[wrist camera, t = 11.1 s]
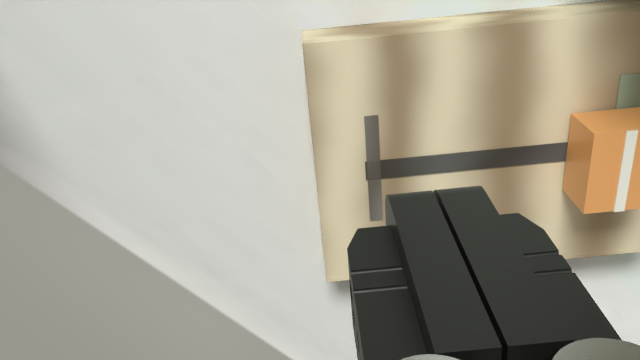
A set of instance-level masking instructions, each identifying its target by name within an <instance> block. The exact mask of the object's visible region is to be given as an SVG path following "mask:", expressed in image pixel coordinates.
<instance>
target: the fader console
mask: <svg viewBox="0 0 640 360" xmlns="http://www.w3.org/2000/svg"><path fill="white" fill-rule="evenodd" d="M302 45H303V55H304V65H305V74H306V84H307V94H308V104H309V114H310V123H311V133H312V143H313V153H314V163H315V172H316V182H317V192H318V202H319V212H320V221H321V231H322V241H323V251H324V260H325V270H326V280H327V282H334V281H344V280H349V267H348V254H347V248H348V246H349V244H350V242H351V240H352V238H353V236H354V234H355V232H356V231H357V229H358V228H368V227H378V226H386V216H385V198H386V195H389V194H399V193H409V192H420V191H430V190H431V191H434V190H439V189H449V188H460V187H470V186H482V187H483V189H484V190H485V192H486V193H487V195H488V197H489V198H490V200H491V202H492V203H493V205H494V207H495V208H496V210H497V211H498V213H499V215H501V214H511V213H519V214H521V215H522V216H524V217H525V218H527V219H529V220H530V221H532V222H533V223H535V224H536V225H538V226H540V227H541V228H543V229H544V230H545V232H546V233H547V234H548V236H549V237H550V239H551V240H552V242H553V243H554V244H555V246H556V247H557V249H558V250H559V255H562V256H563V257H564V259H572V258H582V257H593V256H603V255H614V254H624V253H634V252H640V209H631V210H625V211H621V212H613V211H611V212H600V213H590V214H583V213H582V212H581V211H580V209H579V208H578V207H577V206H576V205H575V203H574V202H573V201H572V200H571V199H570V197H569V196H568V195H567V194H566V193H565V191H564V190H563V181H564V172H565V164H566V155H567V146H568V138H569V129H570V120H571V114H572V113H582V112H592V111H602V110H613V109H623V108H633V107H640V0H609V1H599V2H589V3H579V4H568V5H558V6H548V7H538V8H527V9H517V10H507V11H497V12H487V13H476V14H466V15H456V16H446V17H436V18H425V19H415V20H405V21H395V22H385V23H374V24H364V25H354V26H344V27H334V28H323V29H313V30H303V31H302Z"/></svg>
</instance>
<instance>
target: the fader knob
mask: <svg viewBox="0 0 640 360" xmlns="http://www.w3.org/2000/svg"><path fill="white" fill-rule="evenodd" d="M563 190H564V191H565V193H566V194H567V195H568V196H569V197H570V199H571V200H572V201H573V202H574V203H575V205H576V206H577V207H578V208H579V209H580V211H581V212H582V213H583V214H590V213H600V212H611V211H613V212H621V211H625V210H631V209H640V107H633V108H623V109H613V110H602V111H592V112H582V113H572V114H571V120H570V129H569V138H568V146H567V155H566V164H565V172H564V181H563Z"/></svg>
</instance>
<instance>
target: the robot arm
mask: <svg viewBox="0 0 640 360" xmlns="http://www.w3.org/2000/svg"><path fill="white" fill-rule="evenodd" d="M385 216H386V226H378V227H368V228H358V229H357V231H356V232H355V234H354V236H353V238H352V240H351V242H350V244H349V246H348V248H347V254H348V267H349V280H350V293H351V306H352V319H353V328H354V336H355V343H356V349H357V357H358V360H640V346H639V345H636V344H633V343H630V342H626V341H622V340H621V338H620V337H619V335H618V334H617V333H616V331H615V330H614V328H613V327H612V325H611V324H610V323H609V321H608V320H607V318H606V317H605V316H604V314H603V313H602V311H601V310H600V308H599V307H598V306H597V304H596V303H595V301H594V300H593V298H592V297H591V296H590V294H589V293H588V291H587V290H586V288H585V287H584V286H583V284H582V283H581V281H580V280H579V279H578V277H577V276H576V274H575V273H572V271H571V267H570V266H569V264H568V263H567V261H566V260H565V259H564V257H563V256H562V255H559V250H558V249H557V247H556V246H555V244H554V243H553V242H552V240H551V239H550V237H549V236H548V234H547V233H546V232H545V230H544V229H543V228H541V227H540V226H538V225H536V224H535V223H533V222H532V221H530V220H529V219H527V218H525V217H524V216H522V215H521V214H519V213H511V214H501V215H499V213H498V211H497V210H496V208H495V207H494V205H493V203H492V202H491V200H490V198H489V197H488V195H487V193H486V192H485V190H484V189H483V187H482V186H470V187H460V188H449V189H439V190H434V191H431V190H430V191H420V192H409V193H399V194H389V195H386V198H385Z"/></svg>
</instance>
